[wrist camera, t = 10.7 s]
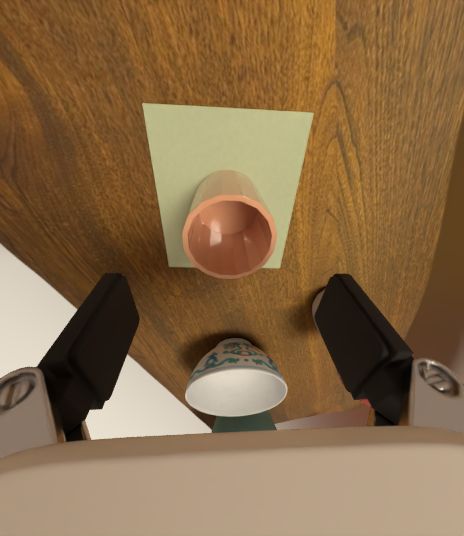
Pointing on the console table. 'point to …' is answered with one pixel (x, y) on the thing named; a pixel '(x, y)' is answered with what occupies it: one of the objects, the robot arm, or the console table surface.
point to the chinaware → (235, 381)
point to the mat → (224, 161)
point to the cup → (228, 227)
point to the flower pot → (244, 423)
